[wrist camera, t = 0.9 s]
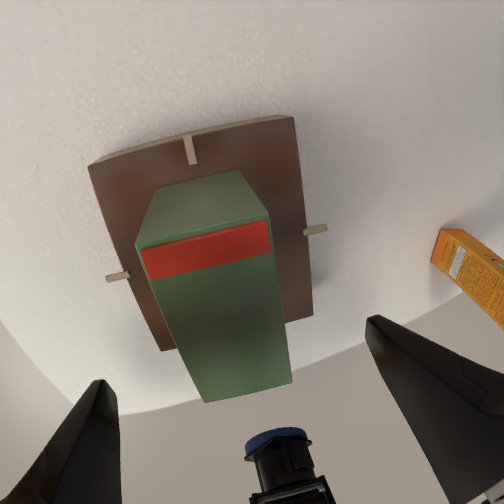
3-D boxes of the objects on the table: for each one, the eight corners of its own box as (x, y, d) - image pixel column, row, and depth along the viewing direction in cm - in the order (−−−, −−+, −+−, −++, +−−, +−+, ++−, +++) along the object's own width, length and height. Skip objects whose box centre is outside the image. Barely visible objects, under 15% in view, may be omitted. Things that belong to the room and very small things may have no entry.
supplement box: (427, 265, 23) (506, 339, 14) (439, 227, 21) (529, 294, 12) (451, 263, 23) (526, 329, 15) (463, 228, 22) (546, 289, 13)
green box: (263, 304, 18) (294, 387, 12) (197, 320, 18) (204, 408, 12) (238, 168, 14) (270, 214, 9) (155, 188, 14) (132, 247, 8)
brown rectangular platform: (316, 290, 21) (330, 313, 19) (148, 331, 20) (145, 357, 18) (298, 110, 16) (316, 112, 13) (83, 161, 15) (65, 172, 12)
